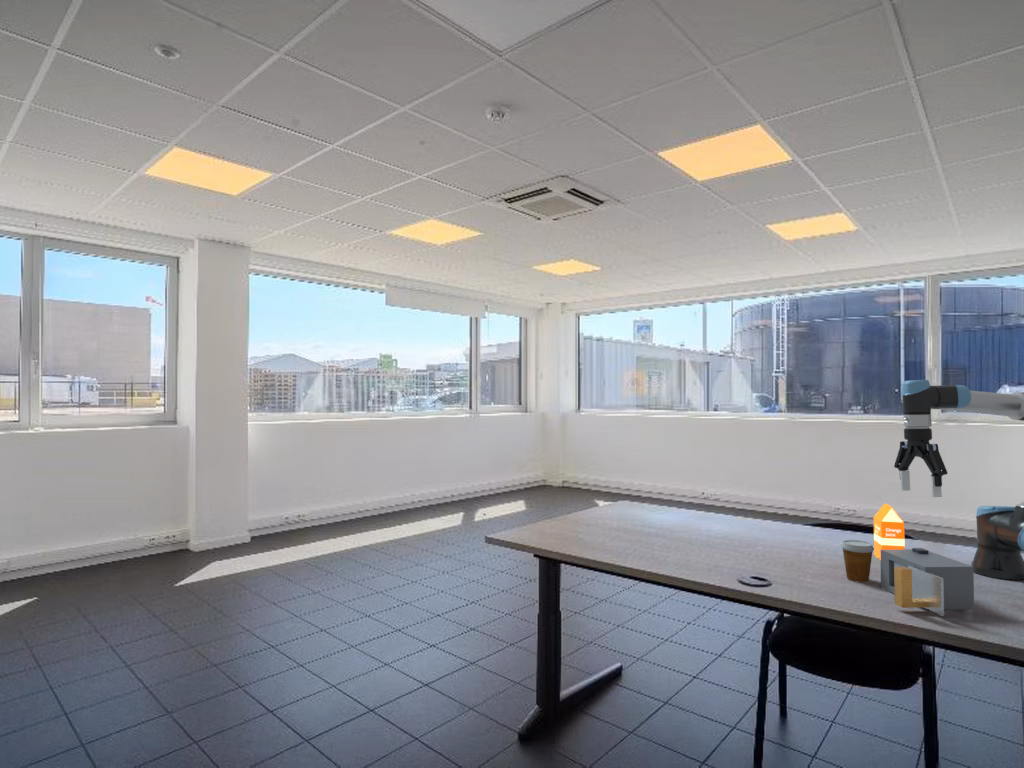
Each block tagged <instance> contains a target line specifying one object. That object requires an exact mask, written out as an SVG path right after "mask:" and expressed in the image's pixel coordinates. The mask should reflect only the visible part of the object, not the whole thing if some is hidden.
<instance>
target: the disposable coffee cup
mask: <svg viewBox="0 0 1024 768" xmlns="http://www.w3.org/2000/svg"><path fill="white" fill-rule="evenodd" d="M840 547H841V549H842V552H843V553H842V554H843V559H844V567H845V573H846V579H847V578H848V579H847V580H849V581H851V582H852V581H853V582H856V581H857V583H867V582H869V580H870V574H871V565H872V557H873V553H874V544H872V543H871V542H869V541H868V542H867V541H863V540H859V539H858V540H855V539H845V540H842V543H841V545H840Z"/></svg>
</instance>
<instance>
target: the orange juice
mask: <svg viewBox="0 0 1024 768" xmlns="http://www.w3.org/2000/svg"><path fill="white" fill-rule="evenodd" d="M872 518H873V548H874V550H873V554H874V555H875V556H874V555H873V556H874V557H875V558H877V559H878V558H879V559H878V560H880V561H881V554H880V550H895V549H906V545H905V544H906V539H905V522H904V521H903V519H902V518H901V517H900V516H899V514H898V513H897V512H896V510H895V509H894V508H893V506H891V505H889V504H887V503H884V504H883V505H882V506H881V507H880V509H879V510H878V511H877V512H876V513H875V515H874V516H873V517H872Z"/></svg>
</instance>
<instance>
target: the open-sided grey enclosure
mask: <svg viewBox="0 0 1024 768" xmlns="http://www.w3.org/2000/svg"><path fill="white" fill-rule="evenodd" d="M880 554H881V560H880V588H881V589H882V588H883V589H882V590H884V589H885V590H884V591H886V592H889V593H891V592H892V593H891V594H893V593H894V594H893V595H895V575H894V567H907V568H908V565H911V566H914V567H916V568H919V569H921V570H924V571H926V572H929V573H931V574H934V575H936V576H939V577H941V578H943V580H944V611H945V610H949V609H950V610H951V611H952V610H975V588H974V587H975V584H974V582H975V581H974V580H975V579H974V578H975V576H974V573H975V572H973V566H971V565H969V564H967V563H963V562H960V561H958V560H955V559H952V558H950V557H947V556H944V555H941V554H938V553H935V552H933V551H929V550H928V549H925V548H922V547H912V548H910V549H909V548H905V549H895V550H880ZM923 608H924V610H925V609H927V608H925V607H922V609H923ZM950 610H949V611H950Z"/></svg>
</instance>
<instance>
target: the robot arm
mask: <svg viewBox="0 0 1024 768" xmlns="http://www.w3.org/2000/svg"><path fill="white" fill-rule="evenodd" d="M901 387H902V388H901V397H902V413H903V414H902V415H903V426H904V427H905V428H904V429H903V437H904V440H905V441H904V440H903V441H899V449H898V452H897V455H896V458H895V462H894V465H893V467H894V468H895V469H897V470H898V471H899V479H900V480H899V481H900V491H902V492H903V491H904V492H905V491H907V492H908V491H911V478H910V474H911V473H910V469H909V468H910V466H911V464H912V463H913V461H914V459H915V458H916V457H918V458H920V459H922V460H923V461H924V463H925V465H926V466H927V468H928V469H929V472H931V475H930V491H931V494H930V495H931V497H932V498H942V486H943V476H945V475H948V470H947V467H946V466H945V463H944V461H943V458H942V456H941V453H940V451H939V444H938V443H930V441H931V440H932V439H933V431H932V428H931V427H932V424H933V423H932V410H943V411H951V412H953V411H954V412H962V413H963V412H964V413H972V414H973V413H974V414H983V415H994V416H995V415H996V416H1003V417H1008V418H1009V419H1011V420H1015V421H1020V422H1021V421H1023V422H1024V392H1021V391H1015V392H1012V393H1011V394H1010V393H1001V392H999V393H998V392H991V391H980V390H970V389H969V387H968V386H966V385H963V384H949V385H948V384H945V385H943V384H942V385H931V383H930V380H928V379H915V380H911V379H910V380H904V381H903V382H902V386H901ZM975 518H976V547H977V549H976V551H975V553H974V556H973V558H972V559H973V560H972V561H971V563H970V564H971V565H970V566H973V573H975V574H978V575H982V576H984V575H985V576H986V577H989V578H995V579H1000V578H1001V580H1009V579H1012V581H1015V580H1016V581H1018V580H1020V579H1024V558H1023V556H1022V554H1021V553H1022V552H1024V501H1022V502H1020V503H1018V504H1016V505H1015V506H1009V505H1007V506H1006V505H1005V506H1004V505H981V506H978V507H977V508H976V515H975ZM985 576H984V577H985ZM1020 581H1021V580H1020Z"/></svg>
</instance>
